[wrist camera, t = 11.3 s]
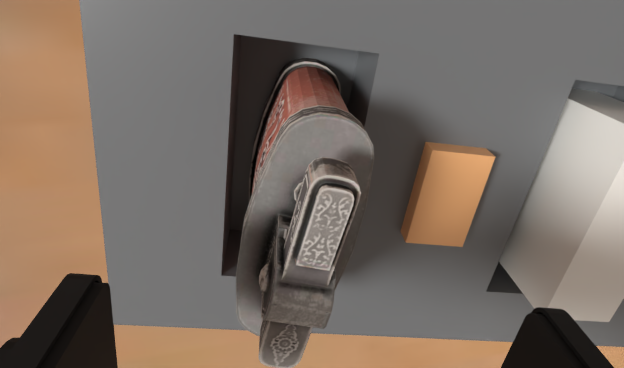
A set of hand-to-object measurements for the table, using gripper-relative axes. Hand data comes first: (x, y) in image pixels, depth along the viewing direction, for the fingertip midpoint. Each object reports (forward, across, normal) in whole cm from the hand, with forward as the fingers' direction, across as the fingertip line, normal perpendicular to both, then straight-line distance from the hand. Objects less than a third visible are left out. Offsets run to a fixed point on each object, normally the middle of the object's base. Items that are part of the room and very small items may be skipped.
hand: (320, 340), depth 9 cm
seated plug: (+11, -11, 0) cm, 16 cm away
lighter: (+11, +1, 0) cm, 11 cm away
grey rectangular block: (+12, -5, 0) cm, 13 cm away
